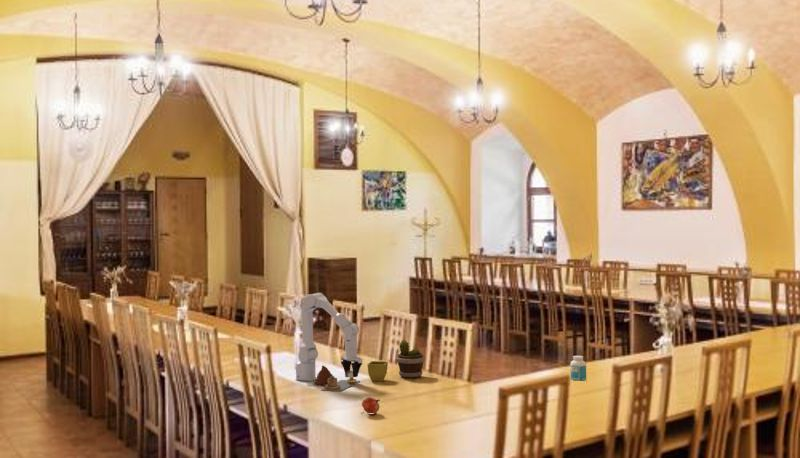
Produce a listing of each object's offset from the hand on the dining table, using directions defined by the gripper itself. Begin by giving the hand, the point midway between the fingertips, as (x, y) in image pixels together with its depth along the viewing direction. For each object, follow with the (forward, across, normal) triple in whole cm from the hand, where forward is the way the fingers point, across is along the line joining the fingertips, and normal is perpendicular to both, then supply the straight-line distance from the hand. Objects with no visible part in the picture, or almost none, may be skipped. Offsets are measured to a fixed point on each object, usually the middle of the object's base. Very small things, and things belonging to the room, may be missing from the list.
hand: (351, 376), depth 393 cm
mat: (+4, +1, -7) cm, 8 cm away
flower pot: (+4, +4, +14) cm, 15 cm away
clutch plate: (0, 0, 0) cm, 0 cm away
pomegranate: (+4, +54, -35) cm, 65 cm away
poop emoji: (+4, -9, -10) cm, 14 cm away
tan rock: (+3, +3, -14) cm, 15 cm away
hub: (+3, 0, 0) cm, 3 cm away
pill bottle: (+4, +81, +75) cm, 110 cm away
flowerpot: (+4, +10, +31) cm, 33 cm away
